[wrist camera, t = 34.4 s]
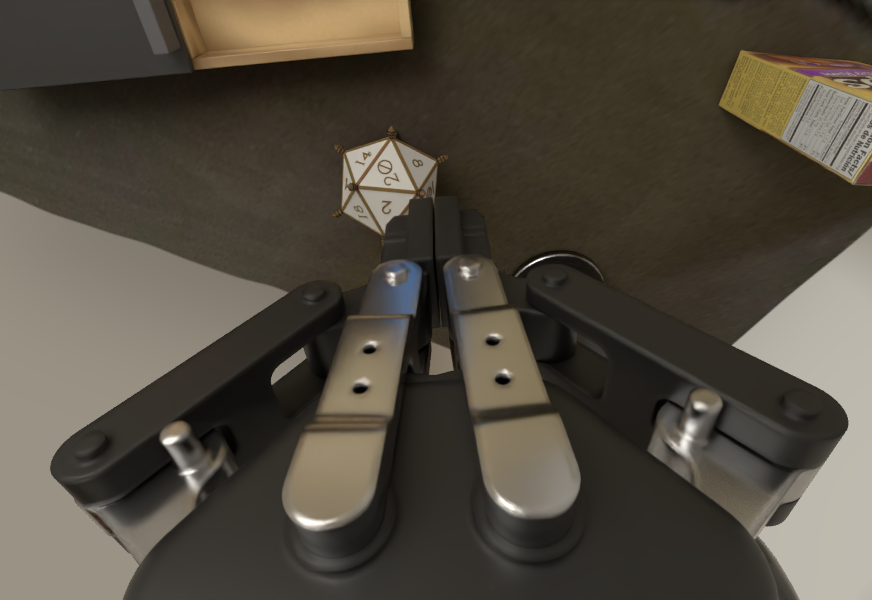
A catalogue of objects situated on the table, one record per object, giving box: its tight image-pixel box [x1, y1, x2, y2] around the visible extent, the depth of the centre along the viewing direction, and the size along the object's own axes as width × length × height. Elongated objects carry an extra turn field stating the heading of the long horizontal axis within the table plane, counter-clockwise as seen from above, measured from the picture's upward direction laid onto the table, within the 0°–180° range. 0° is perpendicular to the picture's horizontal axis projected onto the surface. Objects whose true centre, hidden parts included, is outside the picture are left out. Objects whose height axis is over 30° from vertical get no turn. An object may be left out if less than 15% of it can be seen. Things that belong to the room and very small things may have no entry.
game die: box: [332, 126, 448, 245], centre depth 37 cm, size 9×8×10 cm
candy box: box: [719, 50, 872, 186], centre depth 30 cm, size 9×4×15 cm, turn 85°
